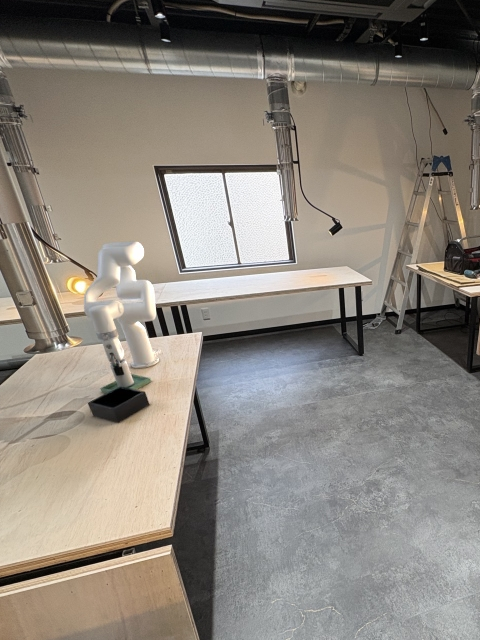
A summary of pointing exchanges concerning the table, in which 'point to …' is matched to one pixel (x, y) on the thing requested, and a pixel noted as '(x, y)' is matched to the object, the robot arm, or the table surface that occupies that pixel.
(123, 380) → the beverage can
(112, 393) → the open box
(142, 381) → the tray
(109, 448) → the table surface
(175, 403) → the table surface
